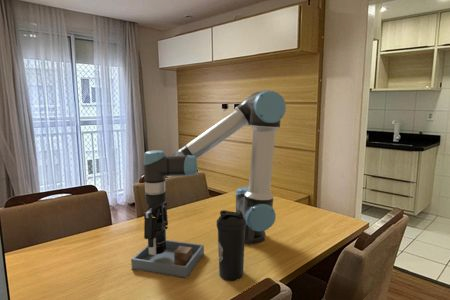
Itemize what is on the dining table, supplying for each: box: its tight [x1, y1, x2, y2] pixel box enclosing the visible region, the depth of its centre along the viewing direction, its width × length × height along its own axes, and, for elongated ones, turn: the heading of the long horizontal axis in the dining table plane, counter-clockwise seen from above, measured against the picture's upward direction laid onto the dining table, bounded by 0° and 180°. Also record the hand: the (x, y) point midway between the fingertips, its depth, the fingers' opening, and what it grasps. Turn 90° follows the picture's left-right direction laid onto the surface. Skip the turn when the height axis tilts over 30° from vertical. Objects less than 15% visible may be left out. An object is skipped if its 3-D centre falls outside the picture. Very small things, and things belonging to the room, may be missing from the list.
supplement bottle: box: [148, 219, 167, 254], centre depth 115 cm, size 7×7×12 cm
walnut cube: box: [174, 246, 192, 266], centre depth 113 cm, size 5×5×5 cm
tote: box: [130, 239, 205, 279], centre depth 114 cm, size 22×18×4 cm
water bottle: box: [216, 209, 246, 282], centre depth 104 cm, size 10×10×23 cm
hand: (157, 249), depth 115 cm, fingers closed on supplement bottle, 7 cm apart
